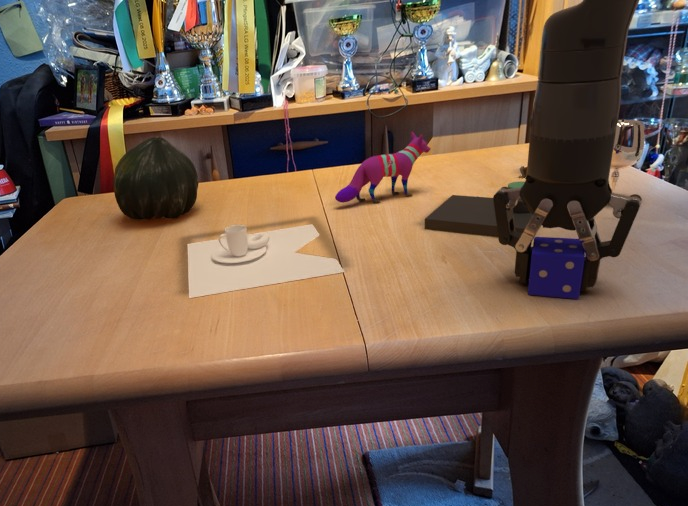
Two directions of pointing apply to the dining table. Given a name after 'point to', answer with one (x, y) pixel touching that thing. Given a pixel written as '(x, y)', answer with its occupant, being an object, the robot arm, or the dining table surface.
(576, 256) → the die
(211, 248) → the teacup and saucer
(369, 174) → the striped fox figurine
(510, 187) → the tare button
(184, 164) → the squash
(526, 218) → the scale
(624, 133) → the wineglass
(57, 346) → the dining table surface
